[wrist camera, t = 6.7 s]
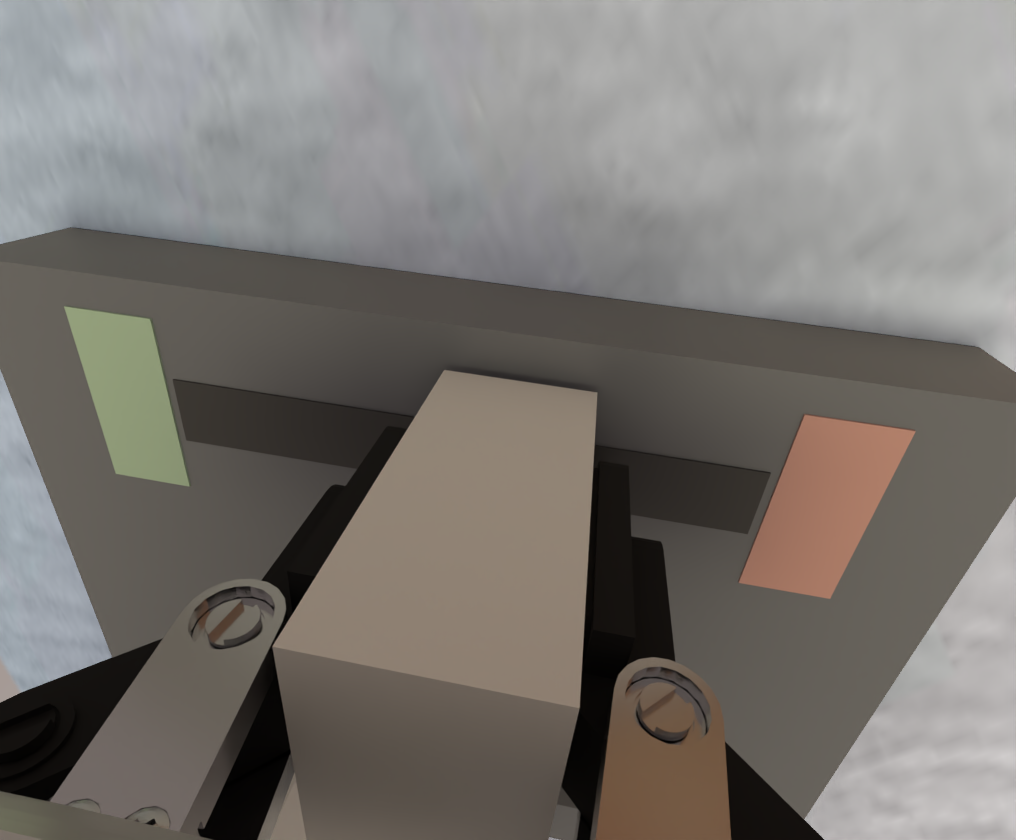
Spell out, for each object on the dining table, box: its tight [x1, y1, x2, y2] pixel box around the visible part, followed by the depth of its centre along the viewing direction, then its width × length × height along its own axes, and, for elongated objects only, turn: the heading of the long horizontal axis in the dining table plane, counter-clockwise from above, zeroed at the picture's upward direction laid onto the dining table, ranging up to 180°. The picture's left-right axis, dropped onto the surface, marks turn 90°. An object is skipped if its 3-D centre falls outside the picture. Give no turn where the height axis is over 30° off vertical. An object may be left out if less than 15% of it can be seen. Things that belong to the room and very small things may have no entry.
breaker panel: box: [0, 227, 1016, 840], centre depth 17 cm, size 18×22×3 cm
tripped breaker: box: [272, 370, 597, 840], centre depth 9 cm, size 4×3×7 cm
